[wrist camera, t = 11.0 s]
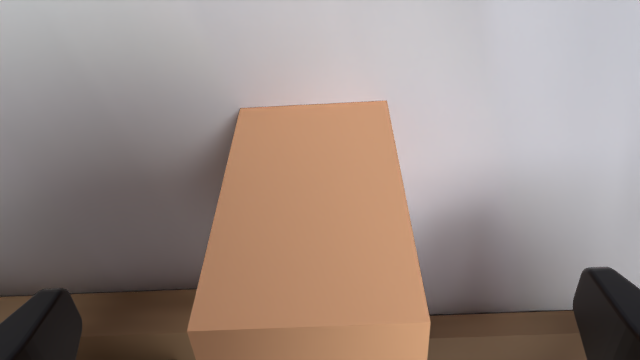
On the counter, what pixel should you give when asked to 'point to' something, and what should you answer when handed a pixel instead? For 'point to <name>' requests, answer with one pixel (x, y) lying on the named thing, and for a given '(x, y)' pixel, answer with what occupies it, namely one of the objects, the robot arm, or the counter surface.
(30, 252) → the counter surface
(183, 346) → the socket board
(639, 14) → the counter surface
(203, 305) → the tan rectangular block
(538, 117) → the counter surface
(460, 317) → the plate
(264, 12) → the counter surface
